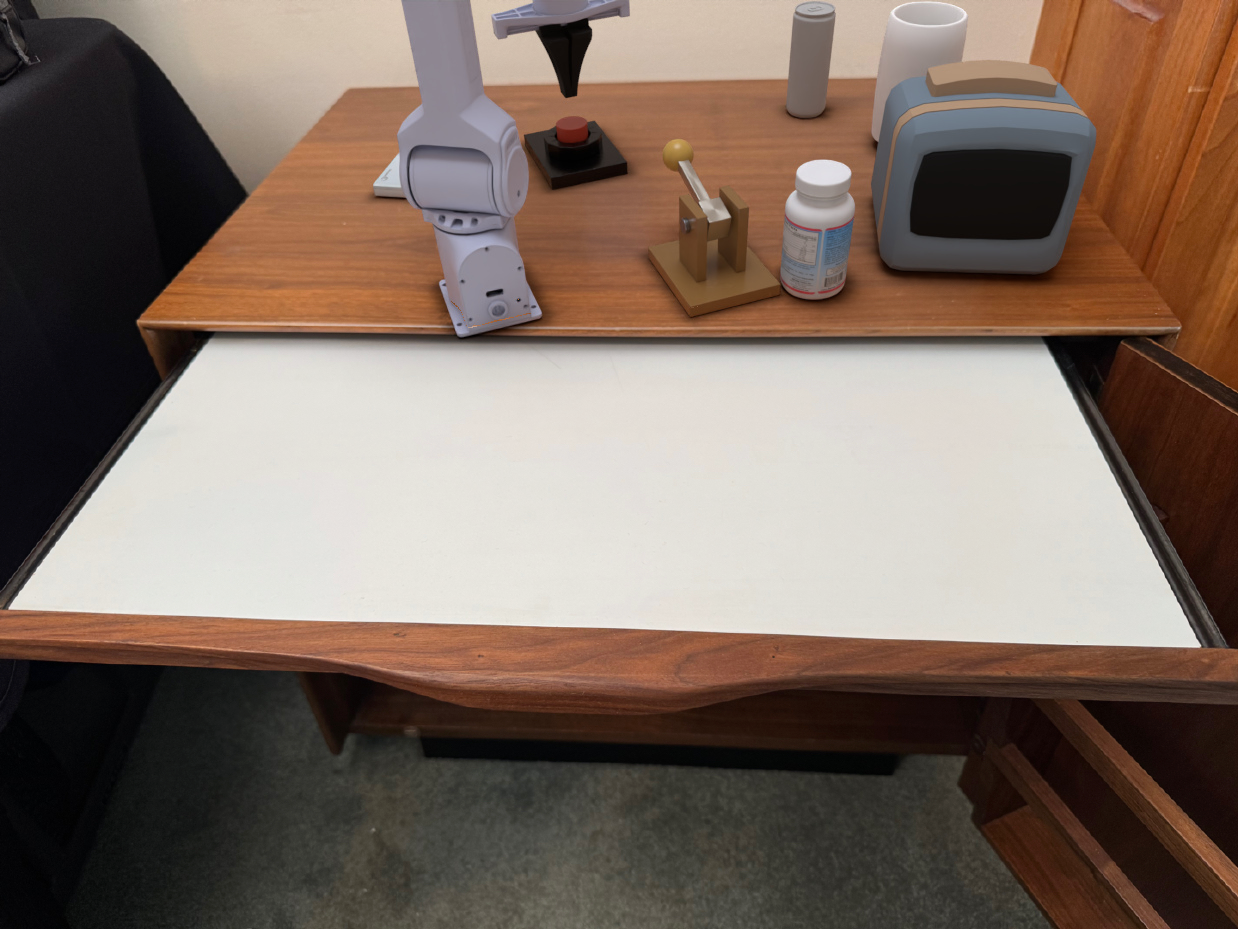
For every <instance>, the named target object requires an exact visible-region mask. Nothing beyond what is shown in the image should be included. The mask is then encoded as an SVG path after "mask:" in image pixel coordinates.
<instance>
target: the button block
mask: <svg viewBox="0 0 1238 929" xmlns="http://www.w3.org/2000/svg"><path fill="white" fill-rule="evenodd" d="M587 125H588V138H587V139H585V140H584V141H580V142H575V143H564V142H561V141H558V139H557V130H556V125H555V126H553V127H551V128H549V129H546V130H540V131H535V132H531V133H525V134H523V140H524V146H525V148H526V149H527V150H528V152H529V154H530V156H531V157H532V160H533V161H534V163H535V164H536V166H537V167H538V169H539V170H540V172H541V174H542V176H543V177H544V178H545V180H546V182H547V184H548V185H549V187H550V188H551V190H556V189H560V188H567V187H570V186H575V185H579V184H584V183H590V182H593V181H598V180H604V179H607V178H608V179H609V178H613V177H618V176H622V175H626V174H628V173H629V171H628V169H629V168H628V161H627V159H626V158H625V157H624V156H623V155H622V153H621V152H620V151H619V149H618V148H617V147H616V146H615V144H614V143H613V142H612V141H611V139H610V138H609V137H608V135H607V134H606V133H605V132H604V131H603V129H602V128H601V126H600V125H599V124H598V123H597V121H596V120H591V121H590V120H589V121H587Z"/></svg>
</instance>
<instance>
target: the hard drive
mask: <svg viewBox="0 0 1238 929" xmlns="http://www.w3.org/2000/svg"><path fill="white" fill-rule="evenodd" d="M399 163H400V154H399V152H398V153H397V154H396V156H395V157H394V158H393V159H392V160H391V162H390V163H389V164H388V165H387V166H386V168H384V170H383V172H382V173H381V174H380V175H379V176H378V177H377V179H376V180H375V181H374V182H373V184H372V188H373V194H374V196H376V197H390V198H404V199H406V197H405V195H404V193H403V191H402V188H401V184H400V177H399Z"/></svg>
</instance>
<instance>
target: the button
mask: <svg viewBox="0 0 1238 929" xmlns="http://www.w3.org/2000/svg"><path fill="white" fill-rule="evenodd" d="M587 122H588V120H587V118H584V117H582V116H578V115H570V116H565V117H562V118H559V119H558V120H557V121H556V123H555V126H556V130H557V139H558V141H561V142H564V143H575V142H580V141H584V140H585V139H587V138H588V125H587Z"/></svg>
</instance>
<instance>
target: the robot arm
mask: <svg viewBox="0 0 1238 929" xmlns="http://www.w3.org/2000/svg"><path fill="white" fill-rule="evenodd" d="M400 2H401V5H402V11H403V16H404V22H405V26H406V31H407V35H408V40H409V44H410V50H411V54H412V55H411V56H412V60H413V65H414V69H415V74H416V79H417V83H418V89H419V94H420V98H421V103H420V105H419V106H417V107H416V108H415V109H414V110H413V111H412V112H411V113H410V114H408V116H407V117H406V118H405V119H404V120H403V121H402V123H401V125H400V126H399V129H398V132H397V134H396V139H397V144H398V145H397V146H398V151H399V152H398V153H399V154H400V163H399V177H400V184H401V188H402V191H403V193H404V195H405V197H406V198H405V199H406V201H407V202H408V204H409V205H410V206H411V207H412V208H413V209H415V210H419V211H421V213H422V219H423V222H425V223H430V224H431V225H432V228H433V233H434V237H435V242H436V246H437V251H438V255H439V259H440V264H441V268H442V273H443V278H444V279H441V280H440V281H439V282H438V286H439V289H440V292H441V295H442V297H443V299H444V302H445V305H446V308H447V311H448V314H449V318H450V319H451V322H452V326H453V328H454V330H455V331H454V332H455V333H456V336H457V337H459V338H464V337H469V336H474V335H478V334H482V333H486V332H489V331H494V330H498V329H502V328H506V327H510V326H514V325H519V324H523V323H528V322H531V321H535V320H539V319H541V318H542V317H543V312H542V310H541V307H540V306H539V304H538V301H537V299H536V297H535V296H534V292H532V289H531V286H530V285H529V283H528V281H527V278H526V277H527V275H526V270H525V265H524V264H525V263H524V261H523V258H522V256H521V254H520V248H519V241H518V234H517V228H516V221H515V216H517V215H518V213H520V211H521V210H522V209H523V207H524V205H525V202H526V200H527V197H528V192H529V183H530V182H529V181H530V173H529V172H530V171H529V170H530V169H529V163H528V158H527V155H526V153H525V151H524V149H523V146H522V143H521V140H520V134H519V130H518V128H517V122H516V120H515V118H514V117H513V116H511V115H510V114H509V113H508V112H506V110H504V109H503V108H502V107H500V106H499V105H498V104H497V103H495V102H494V101H493V100H492V99H490V97H488V96H487V95H486V93H485V88H484V82H483V74H482V69H481V61H480V55H479V48H478V41H477V35H476V29H475V22H474V16H473V9H472V4H471V0H400ZM490 17H491V23H492V31H493V34H494V36H495V37H496V39H497V40H498V41H499V40H503V39H508V36H513V35H518V34H524V33H529V32H535V33H536V35H537V37H538V39H539V40H540V42H541V44H542V46H543V48H544V50H545V52H546V54H547V56H548V58H549V60H550V62H551V65H552V67H553V69H554V70H553V71H554V73H555V76H556V78H557V83H558V86H559V91H560V93H561V95H562V96H563V97H564V99H570V98H574V97H578V91H579V81H580V75H581V72H582V67H583V64H584V59H585V57H586V54H587V51H588V49H589V46H590V44H591V43H592V40H593V28H592V27H591V26H590V22H592V21H597V20H603V19H604V20H605V19H608V18H615V17H619V18H628V17H631V9H630V0H532V2H530V3H527V4H524V5H521V6H517V7H514V8H511V9H508V10H505V11H501V12H496V13H491V14H490ZM518 299H519V300H518ZM451 301H452V302H453V303H455V305H457V306H458V307H459V309H460V310H461V311H460V310H459V309H458V307H456V306H455V305H454V304H453V303H452V302H451ZM461 312H462V313H461ZM526 313H531V314H527V315H523V314H526ZM462 314H463V315H462ZM517 315H522V316H518V317H515V316H517ZM463 317H464V318H463ZM509 317H514V318H510V319H506V320H502V321H497V322H493V323H489V324H485V323H488V322H491V321H494V320H499V319H505V318H509ZM464 320H465V321H464ZM482 324H485V325H482ZM466 325H467V326H466ZM473 325H481V326H477V327H473V328H468V327H472V326H473Z"/></svg>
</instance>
